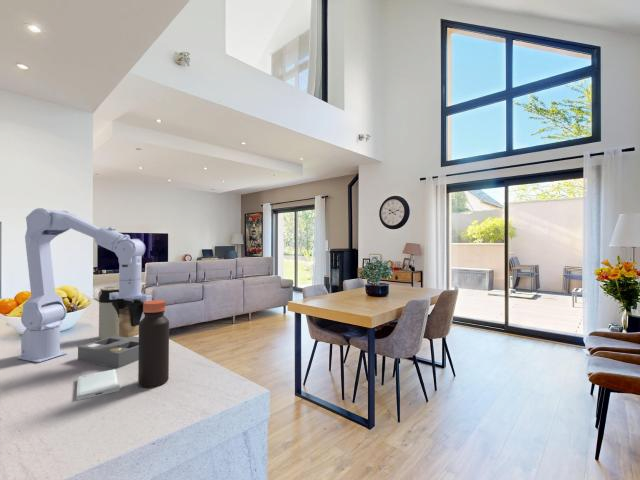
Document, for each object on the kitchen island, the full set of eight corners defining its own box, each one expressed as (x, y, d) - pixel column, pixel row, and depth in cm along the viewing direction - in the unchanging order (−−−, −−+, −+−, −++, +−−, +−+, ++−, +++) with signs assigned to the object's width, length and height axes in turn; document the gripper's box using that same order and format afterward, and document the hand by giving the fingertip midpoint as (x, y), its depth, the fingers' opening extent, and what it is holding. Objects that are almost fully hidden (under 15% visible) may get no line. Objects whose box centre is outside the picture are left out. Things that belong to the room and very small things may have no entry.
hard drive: (77, 376, 82) (76, 395, 72) (115, 368, 86) (119, 385, 76) (77, 382, 82) (76, 403, 72) (115, 375, 86) (119, 392, 76)
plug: (119, 336, 95) (119, 309, 95) (129, 333, 99) (130, 306, 99) (128, 337, 94) (128, 310, 94) (138, 334, 98) (139, 307, 98)
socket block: (77, 360, 95) (78, 345, 95) (118, 346, 107) (118, 333, 107) (118, 367, 90) (118, 352, 90) (156, 352, 102) (156, 339, 102)
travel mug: (93, 339, 114) (93, 288, 114) (113, 333, 122) (114, 285, 122) (110, 341, 112) (111, 289, 112) (130, 335, 119) (130, 286, 119)
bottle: (169, 374, 85) (170, 298, 85) (167, 385, 79) (168, 303, 79) (140, 378, 83) (141, 300, 83) (135, 390, 77) (136, 305, 77)
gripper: (99, 279, 95) (99, 325, 95) (137, 282, 91) (136, 330, 91) (121, 277, 102) (121, 320, 102) (157, 279, 97) (157, 324, 97)
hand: (129, 325), depth 97 cm, fingers closed on plug, 4 cm apart
